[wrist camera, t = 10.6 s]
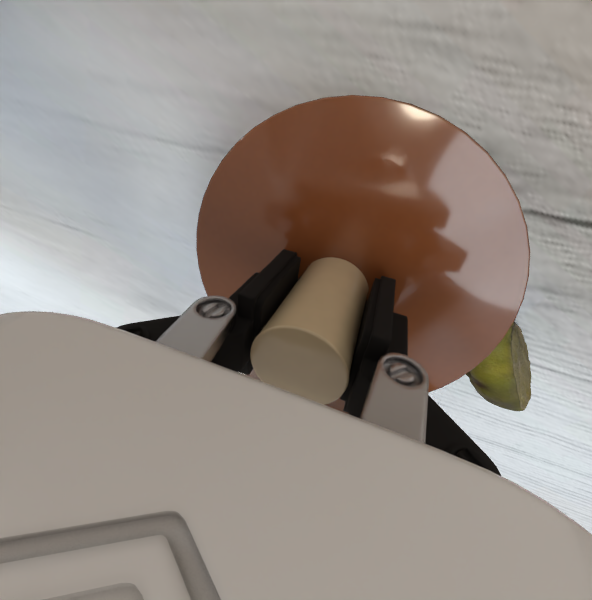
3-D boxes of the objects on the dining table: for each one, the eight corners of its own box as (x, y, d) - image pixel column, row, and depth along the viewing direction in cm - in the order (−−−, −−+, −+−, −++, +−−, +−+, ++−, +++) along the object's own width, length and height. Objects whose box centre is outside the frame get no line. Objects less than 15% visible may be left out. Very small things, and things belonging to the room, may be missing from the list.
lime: (491, 300, 18) (517, 352, 14) (557, 340, 18) (603, 403, 14) (441, 343, 20) (450, 397, 16) (498, 378, 20) (522, 440, 16)
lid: (204, 73, 11) (25, 23, 6) (622, 136, 8) (983, 148, 3) (213, 339, 18) (140, 420, 13) (430, 417, 16) (441, 555, 11)
